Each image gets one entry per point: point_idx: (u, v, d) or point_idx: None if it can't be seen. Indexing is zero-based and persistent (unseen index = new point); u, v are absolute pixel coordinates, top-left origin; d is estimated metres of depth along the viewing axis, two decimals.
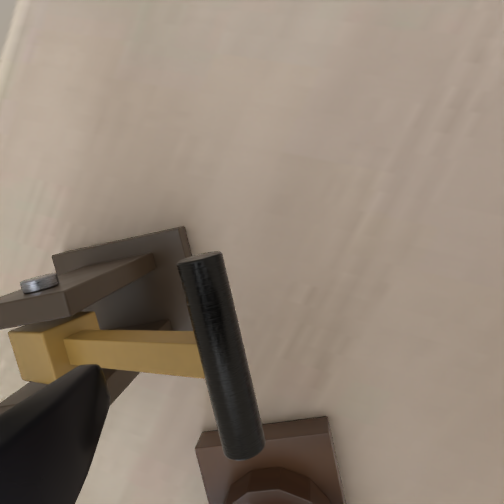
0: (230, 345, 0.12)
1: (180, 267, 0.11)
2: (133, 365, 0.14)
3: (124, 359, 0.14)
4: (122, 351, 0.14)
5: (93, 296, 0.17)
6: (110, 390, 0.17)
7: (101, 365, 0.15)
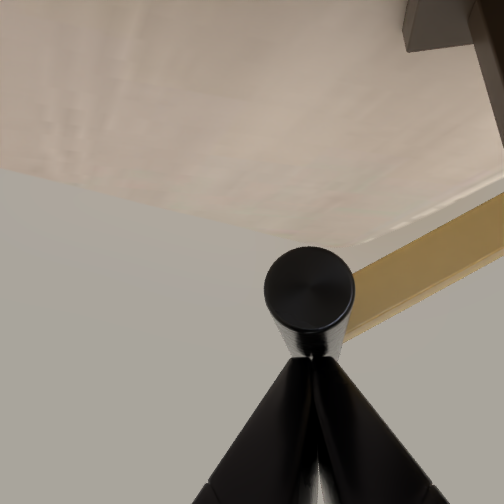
0: (294, 355, 0.09)
1: None
2: (482, 261, 0.08)
3: (494, 256, 0.09)
4: (489, 261, 0.09)
5: None
6: None
7: None
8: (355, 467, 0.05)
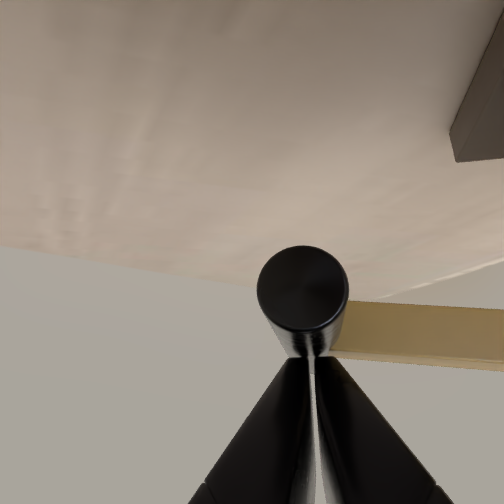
0: None
1: None
2: None
3: None
4: None
5: None
6: None
7: None
8: (358, 467, 0.05)
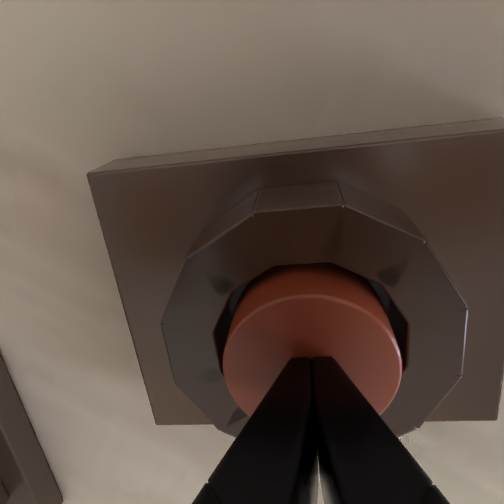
0: None
1: None
2: None
3: None
4: None
5: None
6: None
7: None
8: (355, 467, 0.05)
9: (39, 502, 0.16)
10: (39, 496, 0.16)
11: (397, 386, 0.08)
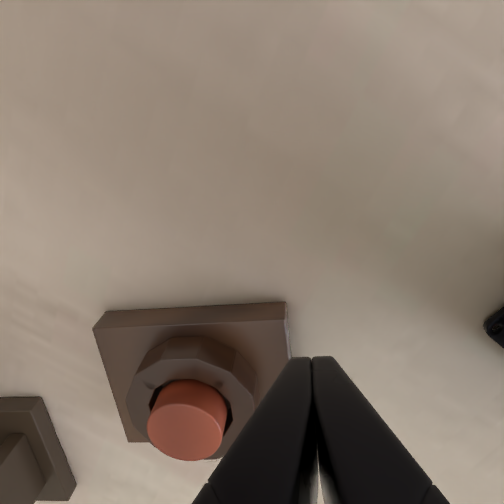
0: None
1: None
2: None
3: None
4: None
5: None
6: None
7: None
8: (355, 467, 0.05)
9: (63, 485, 0.27)
10: (63, 482, 0.27)
11: (220, 439, 0.19)
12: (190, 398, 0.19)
